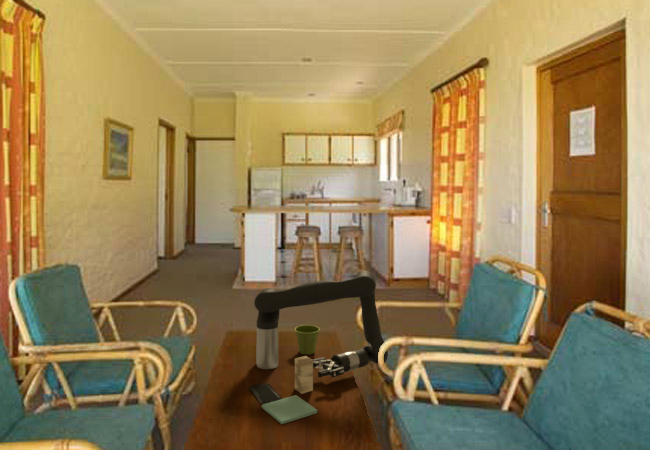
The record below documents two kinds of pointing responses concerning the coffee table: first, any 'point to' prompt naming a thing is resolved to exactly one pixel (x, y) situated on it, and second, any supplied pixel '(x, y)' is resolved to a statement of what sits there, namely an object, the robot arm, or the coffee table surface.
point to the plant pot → (307, 338)
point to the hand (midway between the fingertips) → (312, 370)
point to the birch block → (303, 374)
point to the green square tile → (289, 409)
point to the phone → (264, 393)
